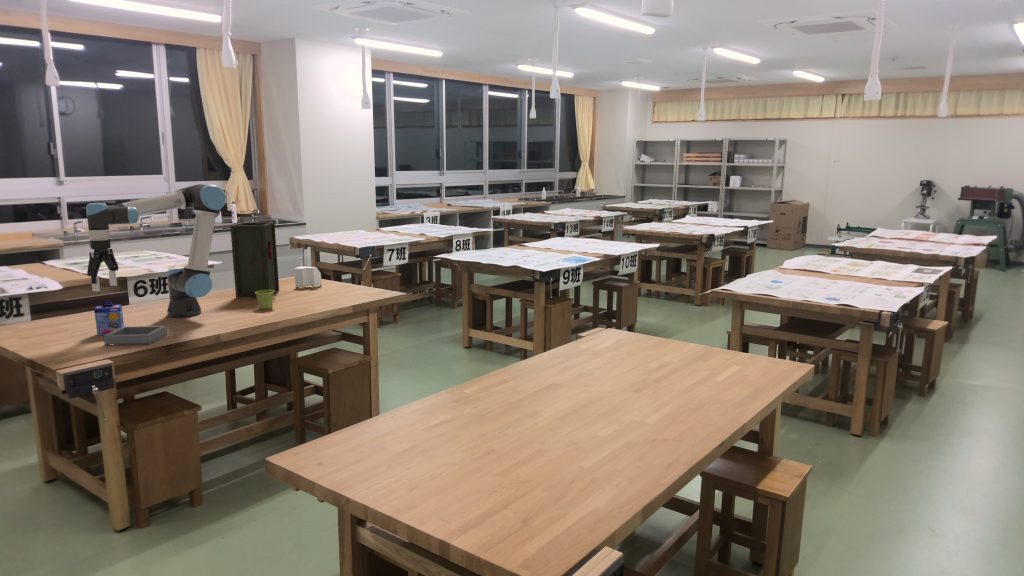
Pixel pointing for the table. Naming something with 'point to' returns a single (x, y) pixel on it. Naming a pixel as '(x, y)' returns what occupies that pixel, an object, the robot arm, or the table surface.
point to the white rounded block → (307, 276)
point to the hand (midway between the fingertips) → (105, 288)
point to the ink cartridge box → (108, 318)
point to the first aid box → (254, 258)
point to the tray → (135, 335)
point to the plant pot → (265, 298)
